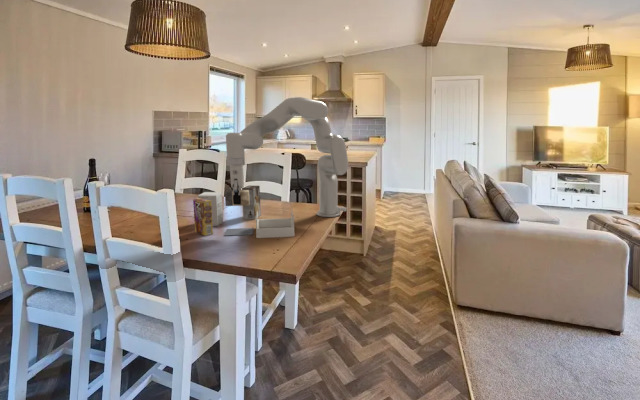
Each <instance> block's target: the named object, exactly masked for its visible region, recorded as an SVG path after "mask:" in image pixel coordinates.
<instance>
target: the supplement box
mask: <svg viewBox="0 0 640 400" xmlns="http://www.w3.org/2000/svg"><path fill="white" fill-rule="evenodd" d="M197 198H202V199H207V200H211V203H212V226H213V227H218V226H219V225H221V224H222V223H223V222H224V213H223V212H224V211H223V210H224V209H223V192H220V191H219V192H218V191H203V192H202V193H199V194H198V196H197Z"/></svg>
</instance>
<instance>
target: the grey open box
mask: <svg viewBox="0 0 640 400" xmlns="http://www.w3.org/2000/svg"><path fill="white" fill-rule="evenodd" d="M290 211H291V213H290V214H291V215H290V216H291V217H288V218H285V217H284V218H262V219H259V217H258V211H257V215H256V219H255V230H256V231H255V233H256V234H255V235H256V239H264V238H267V239H268V238H287V237H288V238H289V237H290V238H291V237H292V238H293V237H295V217H294V213H293V210H292V209H291V210H290Z"/></svg>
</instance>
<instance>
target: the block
mask: <svg viewBox="0 0 640 400" xmlns="http://www.w3.org/2000/svg"><path fill="white" fill-rule="evenodd" d="M238 193H239V192H238ZM240 195H241V204H235V205H234V204H233V189H232V190H231V189H230V190H225V191H224V199H225V201H224V202H225V204H224V205H225V207H243V206H249V203H250V202H249V190H242V189H241V190H240Z"/></svg>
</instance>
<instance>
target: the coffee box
mask: <svg viewBox="0 0 640 400" xmlns="http://www.w3.org/2000/svg"><path fill="white" fill-rule="evenodd" d="M260 187H261V186H260V185H247V186H245V187H243V188H242V189H241V190H249V202H250V203H249V206H242V218H243V219H244V220H252V221H253V220H255V221H256V215H257V211H258V218H259V217H260V216H262V213H261V209H262V208H261V190H260V189H261V188H260Z"/></svg>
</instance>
